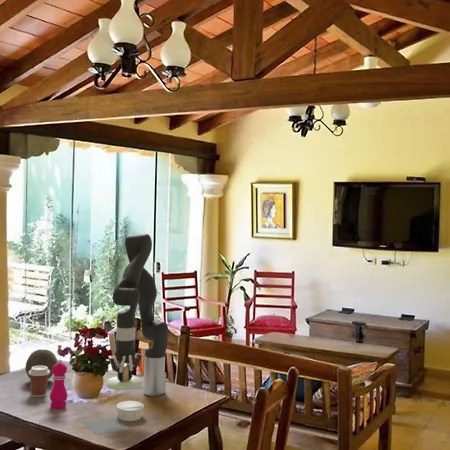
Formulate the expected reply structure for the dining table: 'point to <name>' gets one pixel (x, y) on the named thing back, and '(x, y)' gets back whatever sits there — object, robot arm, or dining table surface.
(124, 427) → the mat
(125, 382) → the lid
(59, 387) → the pepper mill
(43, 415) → the dining table surface
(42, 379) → the coffee cup
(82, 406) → the dining table surface
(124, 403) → the ramekin
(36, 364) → the cantaloupe
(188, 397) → the dining table surface
